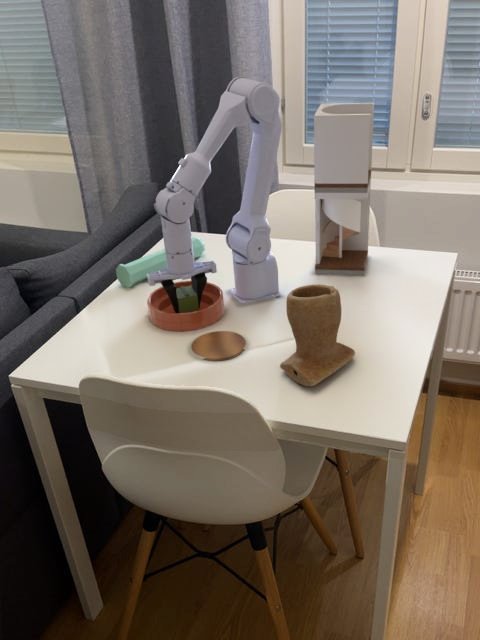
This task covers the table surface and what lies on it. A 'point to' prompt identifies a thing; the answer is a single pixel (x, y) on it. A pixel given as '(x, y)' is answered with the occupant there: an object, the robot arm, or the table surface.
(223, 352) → the coaster
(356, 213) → the spiral staircase tower
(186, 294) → the green grooved block
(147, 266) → the container
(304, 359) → the stone cup
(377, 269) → the table surface
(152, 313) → the bowl
